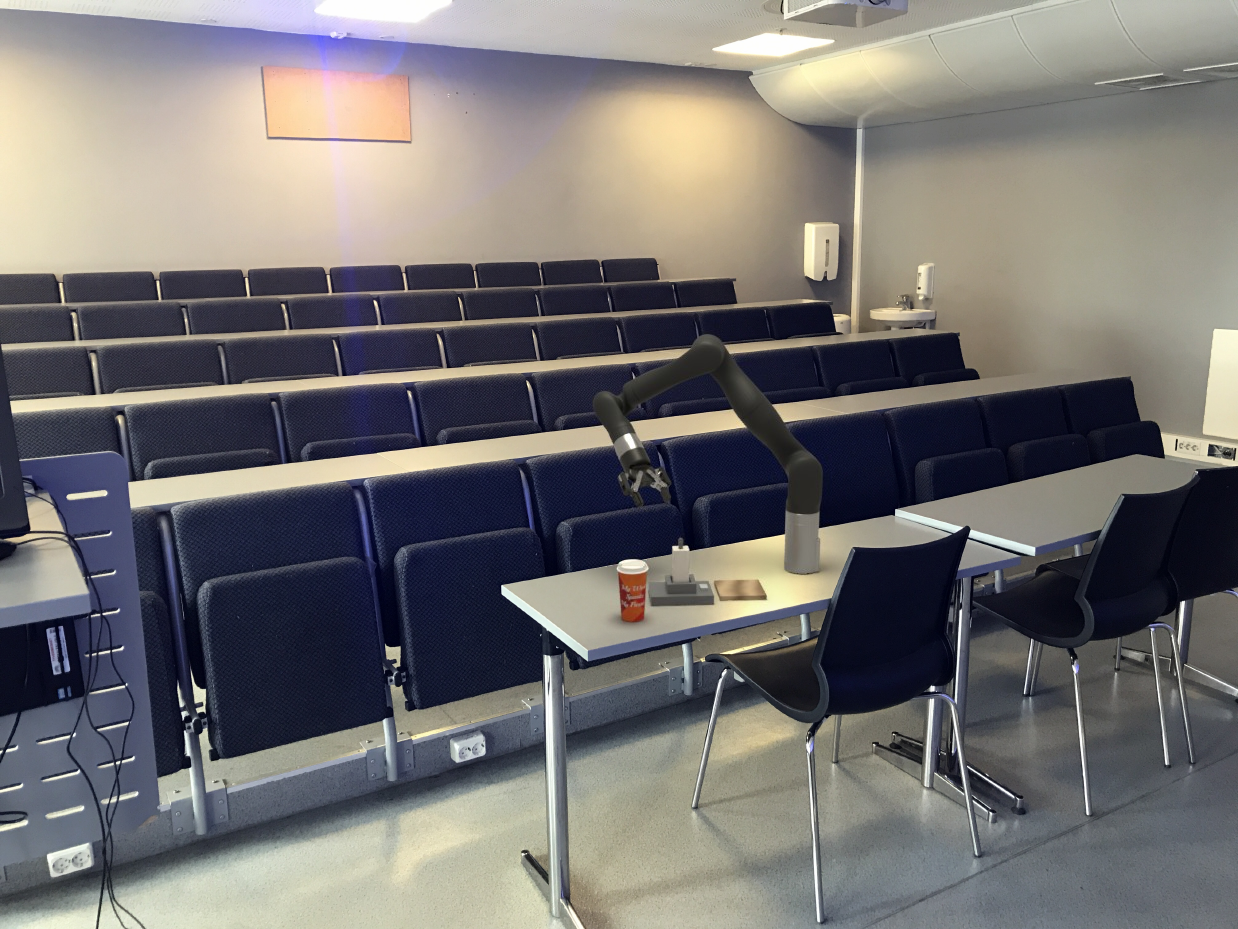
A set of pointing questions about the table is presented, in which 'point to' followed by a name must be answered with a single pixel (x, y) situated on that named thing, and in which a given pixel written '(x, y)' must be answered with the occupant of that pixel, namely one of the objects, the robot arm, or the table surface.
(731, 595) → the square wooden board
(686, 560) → the plug
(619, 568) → the paper cup
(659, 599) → the gray socket base
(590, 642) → the table surface
